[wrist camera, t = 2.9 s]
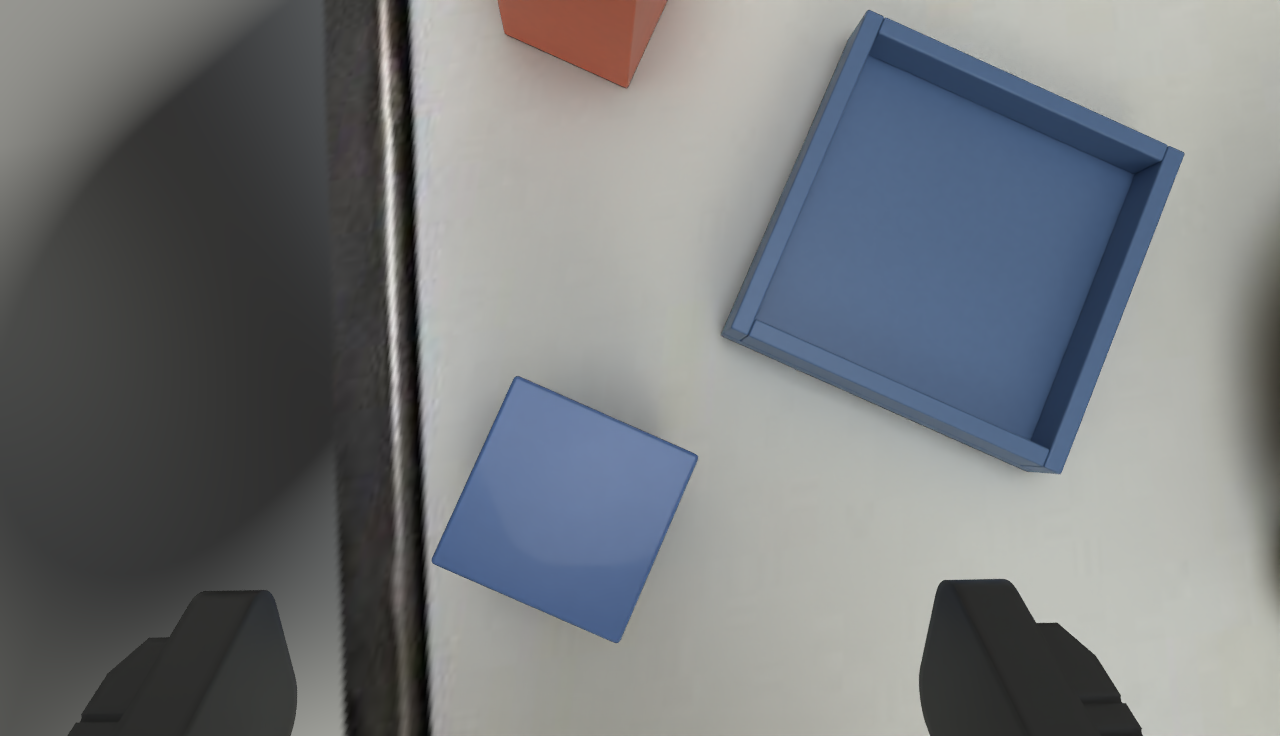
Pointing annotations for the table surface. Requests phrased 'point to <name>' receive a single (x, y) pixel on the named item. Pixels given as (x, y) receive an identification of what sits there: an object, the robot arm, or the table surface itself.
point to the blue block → (565, 509)
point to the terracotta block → (586, 31)
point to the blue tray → (955, 245)
